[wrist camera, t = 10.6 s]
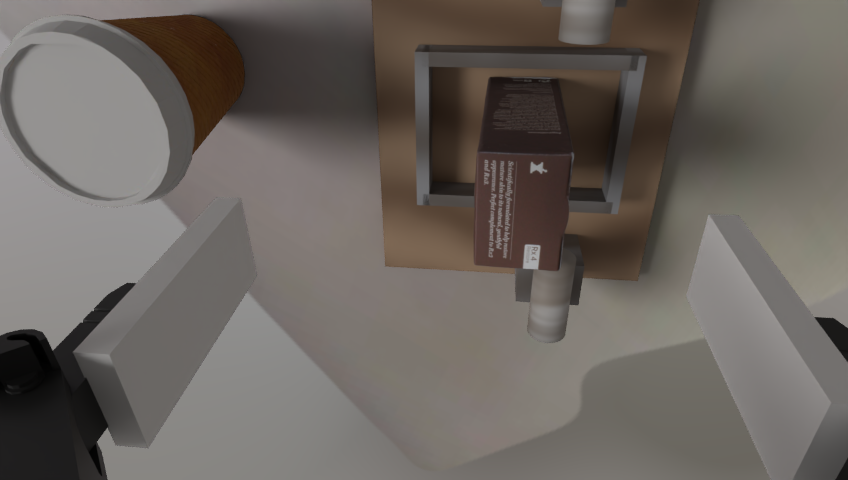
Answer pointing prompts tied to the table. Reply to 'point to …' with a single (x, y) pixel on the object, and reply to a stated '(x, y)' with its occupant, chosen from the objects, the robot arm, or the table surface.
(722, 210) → the table surface
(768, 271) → the robot arm
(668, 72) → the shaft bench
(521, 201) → the box
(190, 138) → the disposable coffee cup
